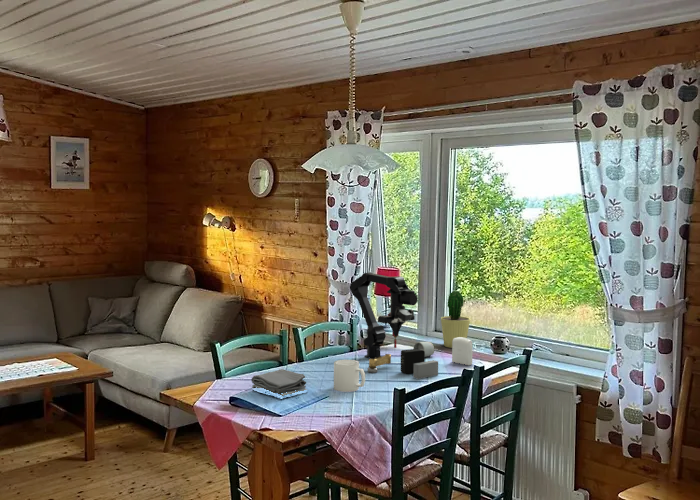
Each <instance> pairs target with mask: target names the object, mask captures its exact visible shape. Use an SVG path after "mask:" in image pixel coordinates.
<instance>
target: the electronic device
mask: <svg viewBox="0 0 700 500" xmlns="http://www.w3.org/2000/svg"><path fill="white" fill-rule="evenodd" d="M425 359H426V357H425V351H424V350H422V349H413V348H411V349H402V350H401V351H400V370H399V371H400V372H401V373H402V374H405V375H413V373H414V364H416V363H421V362H426V361H425Z"/></svg>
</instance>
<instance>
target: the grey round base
mask: <svg viewBox="0 0 700 500" xmlns="http://www.w3.org/2000/svg"><path fill="white" fill-rule="evenodd" d="M367 373H369V374H374V373H375V374H376V373H378V367H376V368H369V367H367Z"/></svg>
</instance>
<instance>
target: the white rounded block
mask: <svg viewBox="0 0 700 500" xmlns="http://www.w3.org/2000/svg"><path fill="white" fill-rule="evenodd" d="M451 362H452V363H454V362H455V364H459V363H460V365H464V364H465V365H466V366H471V365H472V364H473V341H472V340H471V339H469V338H468V337H467V338H463V337H457V338H454V339H453V341H452V348H451ZM465 365H464V366H465Z"/></svg>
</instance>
